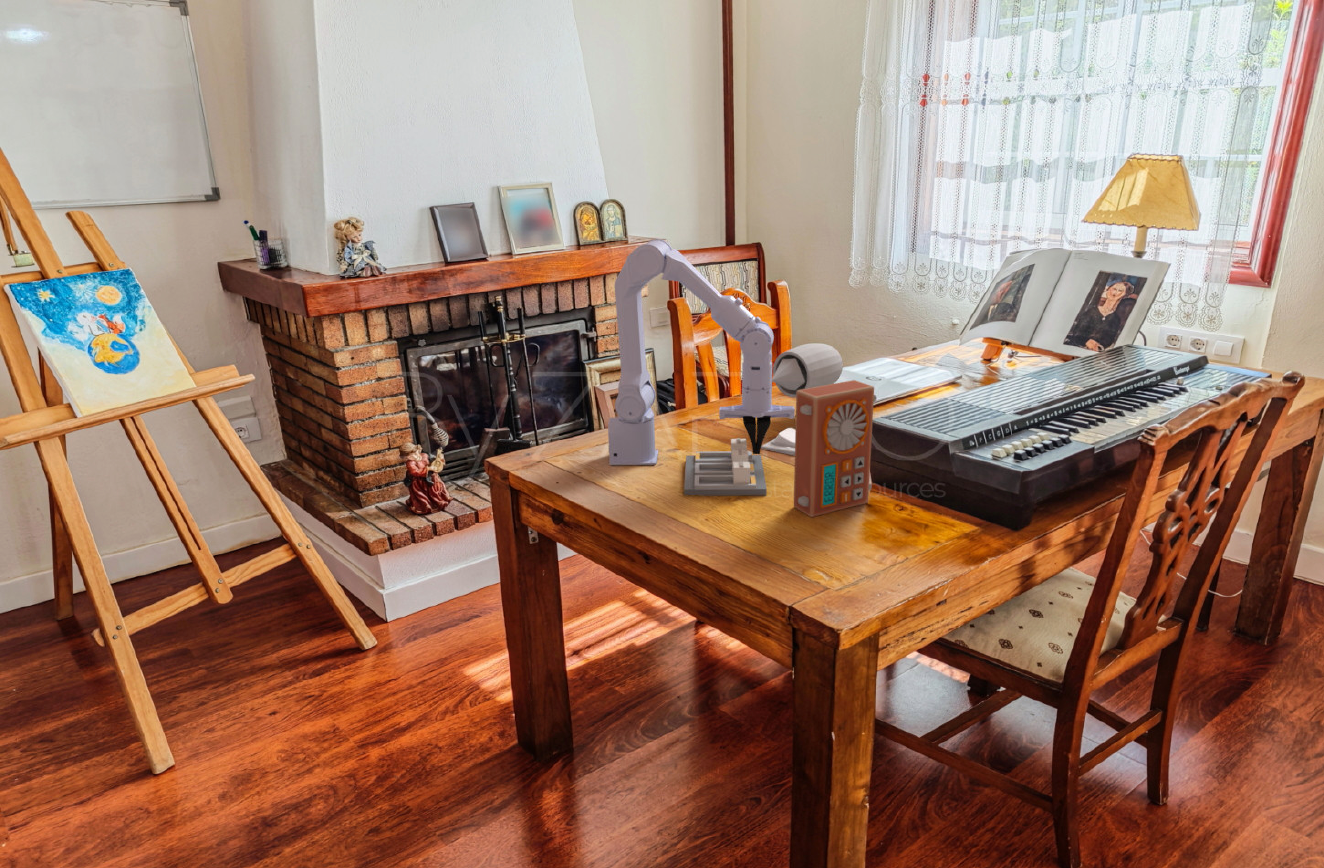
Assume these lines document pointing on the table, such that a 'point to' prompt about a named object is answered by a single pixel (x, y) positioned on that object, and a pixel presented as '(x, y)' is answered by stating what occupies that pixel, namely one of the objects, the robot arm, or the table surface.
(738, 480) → the slider near
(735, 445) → the slider far
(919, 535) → the table surface
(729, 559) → the table surface
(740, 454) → the slider mid
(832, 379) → the jet engine
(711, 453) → the switch unit
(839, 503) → the control panel
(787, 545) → the table surface
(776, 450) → the light switch
